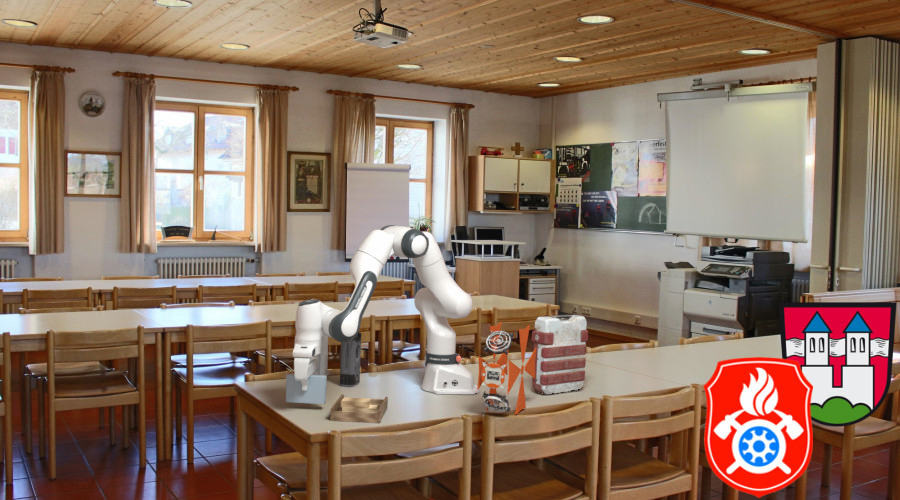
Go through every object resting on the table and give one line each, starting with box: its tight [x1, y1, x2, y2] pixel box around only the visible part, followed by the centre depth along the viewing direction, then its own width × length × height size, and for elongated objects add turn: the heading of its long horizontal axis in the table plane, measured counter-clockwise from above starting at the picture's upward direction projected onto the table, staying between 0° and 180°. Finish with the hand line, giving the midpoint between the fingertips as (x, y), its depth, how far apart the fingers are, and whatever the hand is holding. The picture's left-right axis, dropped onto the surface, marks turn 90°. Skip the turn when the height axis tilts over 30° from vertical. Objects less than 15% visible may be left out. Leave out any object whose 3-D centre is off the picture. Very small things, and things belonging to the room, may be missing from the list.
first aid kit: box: [531, 314, 589, 395], centre depth 309 cm, size 23×8×30 cm, turn 126°
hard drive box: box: [312, 335, 329, 377], centre depth 312 cm, size 16×8×20 cm, turn 178°
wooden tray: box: [329, 393, 389, 424], centre depth 263 cm, size 16×19×4 cm
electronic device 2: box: [477, 321, 537, 415], centre depth 276 cm, size 11×30×30 cm, turn 156°
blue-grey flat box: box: [285, 373, 328, 405], centre depth 267 cm, size 13×3×9 cm, turn 87°
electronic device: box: [339, 331, 362, 388], centre depth 307 cm, size 9×6×20 cm, turn 168°
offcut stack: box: [339, 396, 378, 413], centre depth 259 cm, size 13×5×6 cm, turn 87°
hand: (306, 388), depth 267 cm, fingers closed on blue-grey flat box, 3 cm apart
